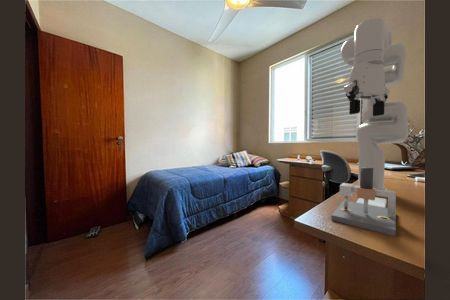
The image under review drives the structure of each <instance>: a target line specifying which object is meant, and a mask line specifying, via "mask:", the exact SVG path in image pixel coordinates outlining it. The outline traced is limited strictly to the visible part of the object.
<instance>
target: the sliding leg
mask: <svg viewBox="0 0 450 300" xmlns="http://www.w3.org/2000/svg"><path fill="white" fill-rule="evenodd" d="M356 194H357V195H356V198H358V199H359V198H362V199H364V213H366V214H368V200H375V197H376V196H375V188H373V168H370V167H360V186H358V188H357V193H356Z"/></svg>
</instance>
